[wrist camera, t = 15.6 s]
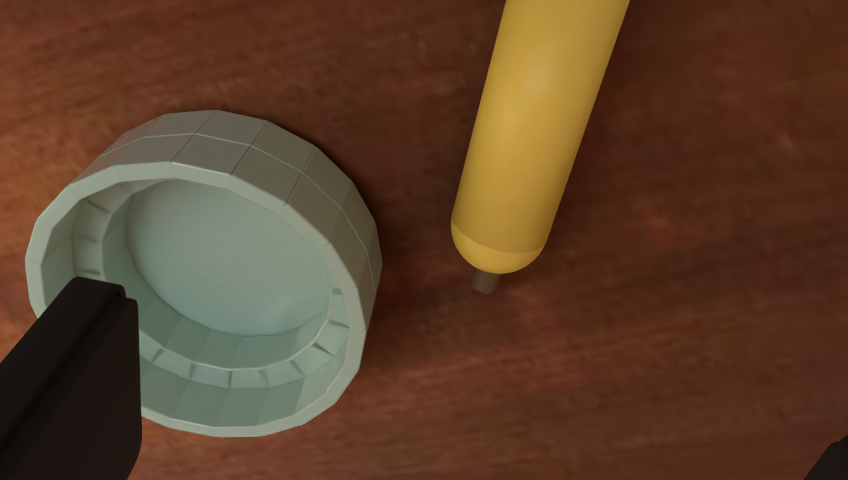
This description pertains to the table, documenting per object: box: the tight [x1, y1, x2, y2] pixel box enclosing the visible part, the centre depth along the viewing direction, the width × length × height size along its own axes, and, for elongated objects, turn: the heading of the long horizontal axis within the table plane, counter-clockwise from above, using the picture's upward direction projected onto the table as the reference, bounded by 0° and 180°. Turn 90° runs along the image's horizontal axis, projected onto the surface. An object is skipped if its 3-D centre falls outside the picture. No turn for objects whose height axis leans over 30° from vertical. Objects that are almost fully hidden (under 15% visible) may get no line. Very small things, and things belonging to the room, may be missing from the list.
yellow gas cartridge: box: [451, 0, 630, 294], centre depth 24 cm, size 14×4×4 cm
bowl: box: [25, 110, 383, 437], centre depth 28 cm, size 12×12×5 cm
